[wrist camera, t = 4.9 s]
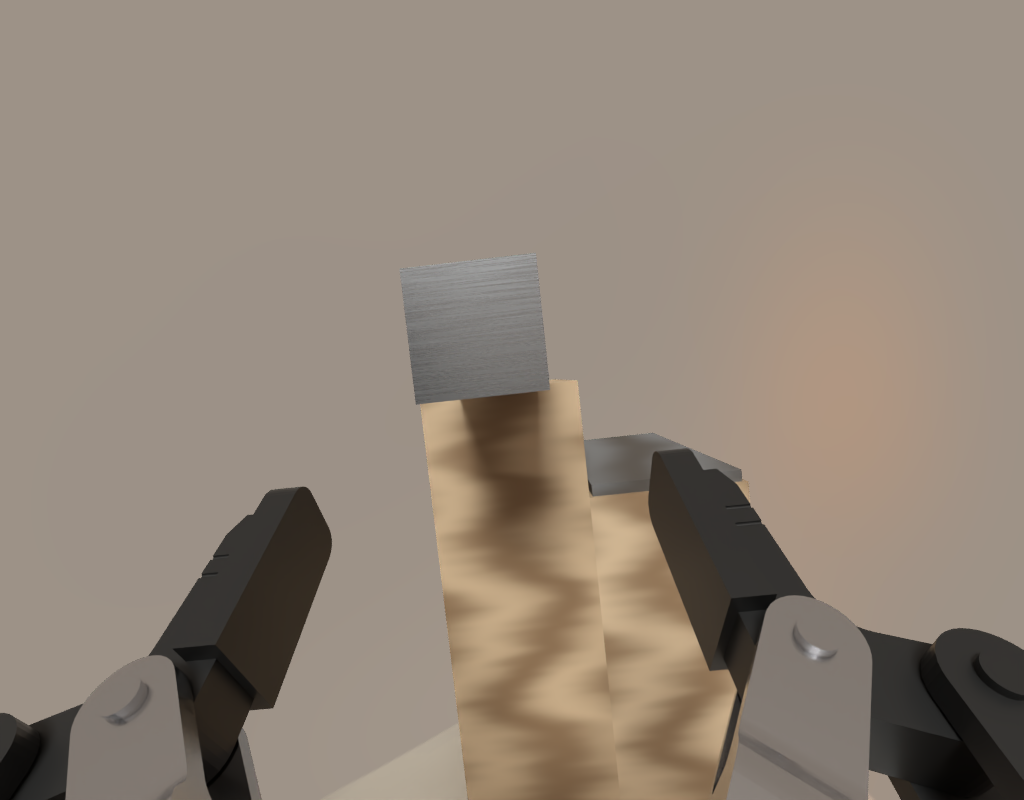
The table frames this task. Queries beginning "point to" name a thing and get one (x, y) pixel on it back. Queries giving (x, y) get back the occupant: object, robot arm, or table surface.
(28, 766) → the robot arm
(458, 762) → the table surface
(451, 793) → the table surface
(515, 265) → the grey metal bar
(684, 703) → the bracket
